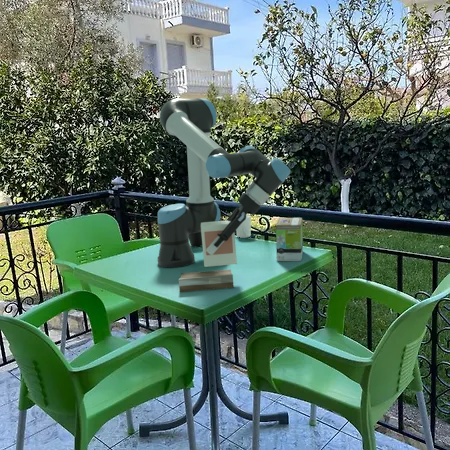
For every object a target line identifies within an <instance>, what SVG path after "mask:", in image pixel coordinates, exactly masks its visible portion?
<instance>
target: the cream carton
mask: <svg viewBox="0 0 450 450" xmlns="http://www.w3.org/2000/svg"><path fill="white" fill-rule="evenodd" d="M229 223H230V221H228V220H227V221H225V220H220V221H215V222H203V223H201V234H202V245H203V246H202V255H203V265H204V266H203V267H216V266H218V267H219V266H229V265H237V264H238V261H237V260H238V259H237V247H236V245H237V244H236V235H235V234H236V231H235V232H234V233H233V234H232V235H231V236H230V237H229V239H228V240H227V241H224V242H223V243H222V245H221V246H220V247H219V248H218V249H217V250H216V251H215V253H214V254H213V255H210V254H209V253H208V252H207V251H206V249H207V248H208V247H209V246H210V244H211V243H212V242H213V241H214V240H215V239H216V238H217V236H218V235H217V234H221V233H222V232H223V230H224V229H225V228H226V227H227V225H228V224H229Z"/></svg>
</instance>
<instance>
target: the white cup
mask: <svg viewBox="0 0 450 450" xmlns="http://www.w3.org/2000/svg"><path fill="white" fill-rule="evenodd" d="M246 216H247V217H246V219H245V220H244V221H243V222H242V223H241V225H240V226H239V227H238V228H237V229H236V230H235V232H236V237H237V238H239V237H240V239H246V238H249V237H251V236H252V235H251V231H252V216H251V215H249V214H247V215H246Z"/></svg>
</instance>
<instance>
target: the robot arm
mask: <svg viewBox="0 0 450 450" xmlns="http://www.w3.org/2000/svg"><path fill="white" fill-rule="evenodd" d="M217 118H218V117H217V111H216V108H215V106H214V104H213V103H212V101H210V100H209V99H207V98H201V97H199V98H198V97H194V98H173V99H170V100H168V101H166V102H165V103H164V104H163V105H162V107H161V109H160V112H159V122H160V125H161V126H162V128H163V130H165V131H166V132H167V133H168V134H169V135H171V136H175V137H176V138H178V139H179V140H180V141H181V142H182V143H183V144H184V145H186V155H187V157H186V158H187V172H188V174H187V175H188V192H189V196H188V198H186V201H185V203H186V204H185V203H175V204H169V205H166V206H163V207H161V208H160V209H159V210H158V212H157V221H156V222H157V228H158V236H159V242H160V244H159V246H160V247H159V252H158V256H157V265H158V266H159V267H162V268H180V267H185V266H186V267H187V266H189V265H192V264H193V263H194V262H195V261H196V260H195V259H196V257H195V253H194V252H193V249H192V246H191V244H190V241H189V238H188V234H193V233H197V232H201V223H203V222H215V221H221V210H220V208H219V207H220V206H219V204H218V203H217V202H215V198H214V197H212V195H211V182H210V177H211V178H213V179H224V178H229V177H236V176H242V175H248V174H251V175H252V176H253V177H254V178H255V179H254V180H253V181H252V182H251V184H250V185H249V186H248V187H247V188H246V190H245V192H243V193H242V194H241V196H239V198H238V199H237V202H238V203H239V204H240V206H239V207H238V206H237V207H235V209H234V210H233V211H232V212H231V213H230V215H228V217H227V218H226V220H224V221H227V220H228V221H230V223H229V224H228V225H227V227H226V228H225V229H224V230H223V232H222V233H221V234H217V235H218V236H217V238H216V239H215V240H214V241H213V242H212V243H211V244H210V246H209V247H208V248H207V249H206V251H207V252H208V253H209V254H210V255H213V254H214V253H215V251H216V250H217V249H218V248H219V247H220V246H221V245H222V243H223V242H224V241H227V240H228V239H229V237H230V236H231V235H232V234H233V233H234V232H235V233H236V229H237V228H238V227H239V226H240V225H241V223H242V222H243V221H244V220H245V219H246V217H247V216H246V215H248V213H250V214H251V215H256V213H258V211H260V209H261V206H264V204H265V203H266V202H269V201H270V197H271V196H272V195H273V194H274V192H275V191H277V189H278V188H279V187H281V185H282V184H283V183H284V182H285V181H286V179H287V178H288V177H289V175H290V174H291V169H290V168H289V167H288V165H286V164H285V163H284V162H283V161H282V160H280V158H278V157H274V158H273V159H271V160H270V159H269V158H268V157H266V155H264V154H263V153H262V152H261V151H260V150H259V149H257V148H255V147H253V145H246V146H244V147H242V148H240V150H239V151H238V152H230V153H229V152H228V151H226V150H225V149H224V148H223V147H222V146H220V145H219V144H218V143H217V142H216V141H214V140H213V139H212V138H211V137H210V135H211V134H212V128H214V127H215V125H216V123H217Z"/></svg>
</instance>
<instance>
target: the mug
mask: <svg viewBox="0 0 450 450" xmlns="http://www.w3.org/2000/svg"><path fill="white" fill-rule="evenodd" d="M188 238H189V244H190V246H191V248H201V247H203V245H202V234H201V232H197V233H193V234H188Z"/></svg>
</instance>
